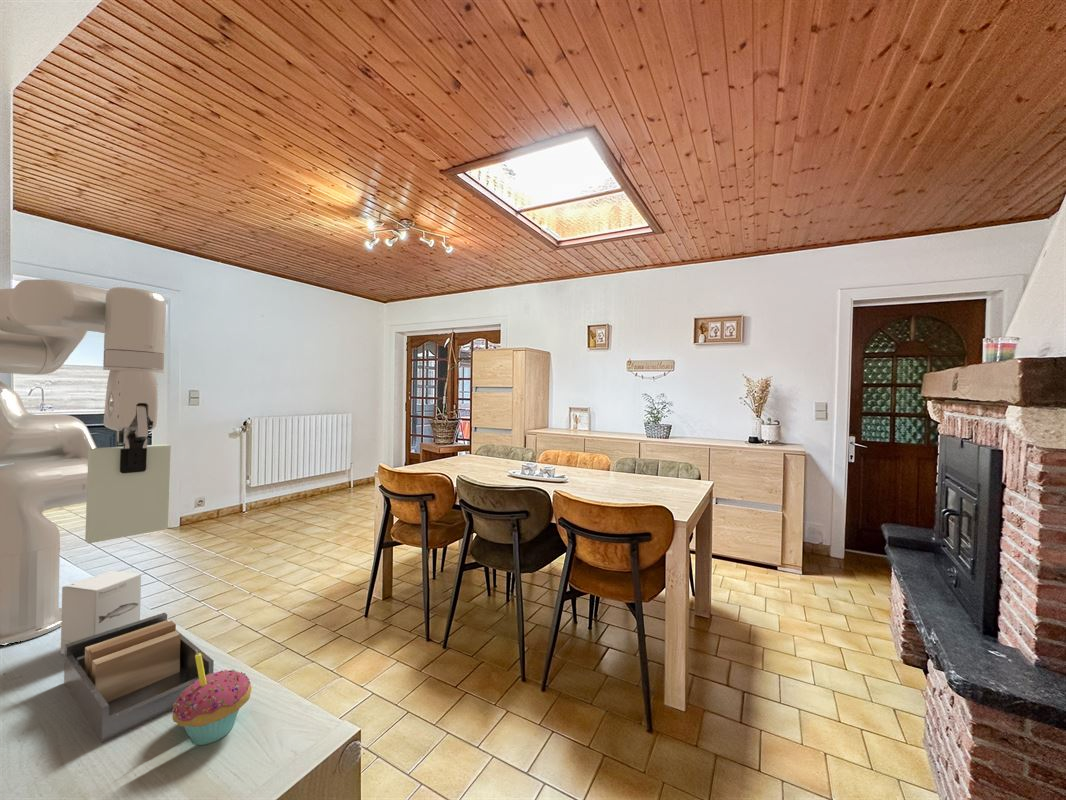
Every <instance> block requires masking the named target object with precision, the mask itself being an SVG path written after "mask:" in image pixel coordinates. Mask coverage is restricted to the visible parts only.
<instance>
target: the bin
mask: <svg viewBox="0 0 1066 800" xmlns="http://www.w3.org/2000/svg"><path fill="white" fill-rule="evenodd" d="M166 620H168V614H167V612H162V613H159V614H155V615H151V616H150V617H145V618H142V619H140V621H137V622H133V623H130V624H127V625H124V626H121V627H118V628H115V629H112V630H109V631H105V632H102V633H99V634H96V635H93V636H90V637H87V638H84V639H81V640H77V641H74V642H71V643H68V644H65V655H64V661H63V662H64V667H63V670H64V671H63V679H64V680H63V683H64V685H65V687H66V688H67V690H68V691H69V693H70V696H72V699H73V700H74V701H75V703H76V704H77V706H78V708H79V709H80V711H81V712H82V714H83V715H84V717H85V719H86V720H87V721H88V723H89V725H90V726H91V728H92V729H93V731H94V733H95V734H96V736H97V738H98V739H99V741H100V743H102V744H103V743H105V742H108V741H109V740H111V739H113V738H115V737H118V736H120V735H122V734H124V733H126V732H128V731H130V730H133V729H134V728H137V727H138V726H139V727H140V726H141V725H143V724H145V723H147V722H150V721H151V720H154V719H155V718H158V717H160V716H162V715H164V714H166V713H168V712H170V711H173V707H174V706H173V705H174V703H175V701H176V700H177V698H178V697H179V696H180V694H181V692H182V691H184V690H185V689H186V688H187V687H189V686H188V685H190V684H191V683H193V682H194V681H196V680H198V679H199V675H198V670H197V665H196V659H195V655H197V654H196V651H195V650H197V651H198V654H199V653H201V656H202V661H203V667H204V672H205V676H206V675H207V674H211V673H214V666H215V665H214V661H215V660H214V659H212V658H211V657H210V656H208V655H207V654H206V653H205V652H204V651H203V650H201V649H200V648H199V647H198V646H197V645H195V644H194V643H193V642H192V641H191V640H189V638H187V637H186V636H185V635H183V634H182V633H180V632H179V631H178V630H177V629H176V631H177V632H178V633H180V672H178V673H176V674H173V675H171V676H169V677H166V678H164V679H161V680H159V681H157V682H154V683H152V684H150V685H147V686H145V687H143V688H140V689H138V690H135V691H133V692H131V693H128V694H126V695H124V696H121V697H119V698H116V699H114V700H112V701H109V702H106V700H105V699H104V698H103V696H102V695H101V693H100V692H99V691H98V689H97V688H96V687H95V685H94V684H93V682H92V681H91V680H90V678H89V677H88V676H87V674H86V673H85V647H88V646H91V645H94V644H97V643H100V642H103V641H106V640H109V639H112V638H115V637H118V636H121V635H124V634H127V633H130V632H133V631H136V630H139V629H142V628H145V627H148V626H151V625H154V624H157V623H160V622H163V621H166Z"/></svg>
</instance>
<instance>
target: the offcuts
mask: <svg viewBox="0 0 1066 800" xmlns="http://www.w3.org/2000/svg"><path fill="white" fill-rule="evenodd" d="M176 626H177V624H176V623H175V622H174V621H172V620H168V619H167V620H166V621H163V622H160V623H157V624H154V625H151V626H148V627H145V628H142V629H139V630H136V631H133V632H130V633H127V634H124V635H121V636H118V637H115V638H112V639H109V640H106V641H103V642H100V643H97V644H94V645H91V646H88V647H85V673H86V674H87V676H88V677H89V678H90V680H91V681H92V682H93V684H94V685H95V687H96V688H97V689H98V691H99V692H100V693H101V695H102V696H103V698H104V699H105V700H106V702H109V701H112V700H114V699H116V698H119V697H121V696H124V695H126V694H128V693H131V692H133V691H135V690H138V689H140V688H143V687H145V686H147V685H150V684H152V683H154V682H157V681H159V680H161V679H164V678H166V677H169V676H171V675H173V674H176V673H178V672H180V632H179V631H178V630H177V628H176ZM176 630H177V631H178V632H179V633H178V632H177V631H176Z"/></svg>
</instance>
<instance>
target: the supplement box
mask: <svg viewBox="0 0 1066 800" xmlns="http://www.w3.org/2000/svg"><path fill="white" fill-rule="evenodd" d="M141 589H142V573H135V572H128V571H118V570H117V571H116V570H110V571H109V570H108V571H105V572H103V573H100V574H97V575H94V576H91V577H88V578H83V579H82V580H78V581H76V582H73V583H70V584H67V585H64V586H62V587H61V608H62V618H61V626H60V627H61V628H60V655H61V654H62V655H64V656H65V644H68V643H71V642H74V641H77V640H81V639H84V638H87V637H90V636H93V635H96V634H99V633H102V632H105V631H109V630H112V629H115V628H118V627H121V626H124V625H127V624H130V623H133V622H137V621H140V620H141V600H142V599H141V598H142V597H141V595H142V590H141Z"/></svg>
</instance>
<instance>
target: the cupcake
mask: <svg viewBox="0 0 1066 800" xmlns="http://www.w3.org/2000/svg"><path fill="white" fill-rule="evenodd" d="M195 651H196V654H197V655H195V659H196V665H197V670H198V675H199V679H198V680H196V681H194V682H193V683H191V684H190V685H188V686H189V687H187V688H186V689H185V690H184V691H182V692H181V694H180V696H179V697H178V698H177V700H176V701H175V703H174V705H173V706H174V707H173V709H172V715H171V717H172V721H173V722H174V723H176V724H178V725H179V726H180V727H183V728H184V729H185V732H186V734H187V736H189V738H188V739H189V742H191V744H193V745H195V746H203V745H208V744H212V743H215V742H217V741H218V740H220V739H222V738H223V737H225V736H227V735H228V734H229V733H230V732H231V731H232V729H233V728H234V725H235V721H236V719H237V716H238V713H239V712H240V709H241V708H242V707H243V706H244V705H245V704H246V703H247V702H248V701H249V700H250V698H251V692H252V683H251V682H250V678H249V677H248V676H247V675H246V673H245V672H244V673H243V672H242V671H240V672H239V671H236V670H235V669H231V670H228V669H223V670H220V671H216V672H213V673H211V674H207V675H206V676H205V672H204V667H203V661H202V656H201V653H199V654H198V651H197V650H195Z"/></svg>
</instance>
